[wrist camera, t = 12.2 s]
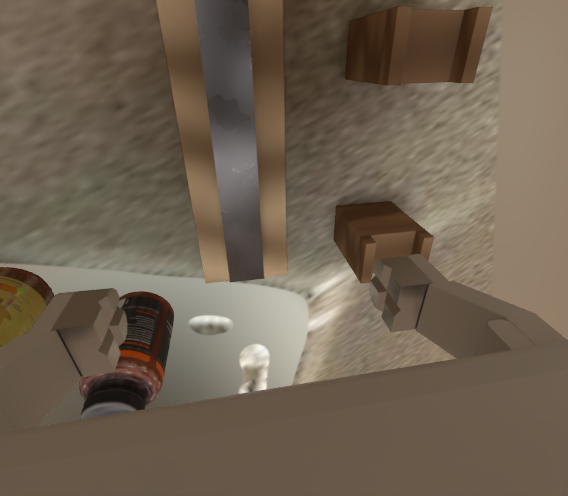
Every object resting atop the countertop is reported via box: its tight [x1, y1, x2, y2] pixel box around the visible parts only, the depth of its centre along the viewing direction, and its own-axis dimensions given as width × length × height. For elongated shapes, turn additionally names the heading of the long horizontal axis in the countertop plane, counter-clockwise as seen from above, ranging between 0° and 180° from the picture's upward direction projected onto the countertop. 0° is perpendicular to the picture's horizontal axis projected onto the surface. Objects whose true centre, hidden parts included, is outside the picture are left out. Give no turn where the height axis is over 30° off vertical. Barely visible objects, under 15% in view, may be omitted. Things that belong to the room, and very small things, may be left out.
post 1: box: [346, 6, 493, 85], centre depth 21 cm, size 4×5×7 cm, turn 91°
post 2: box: [334, 202, 434, 283], centre depth 28 cm, size 4×5×7 cm, turn 91°
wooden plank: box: [156, 0, 287, 283], centre depth 25 cm, size 24×8×1 cm, turn 1°
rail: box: [194, 0, 264, 282], centre depth 24 cm, size 20×3×3 cm, turn 1°
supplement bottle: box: [79, 292, 174, 420], centre depth 27 cm, size 6×6×11 cm
